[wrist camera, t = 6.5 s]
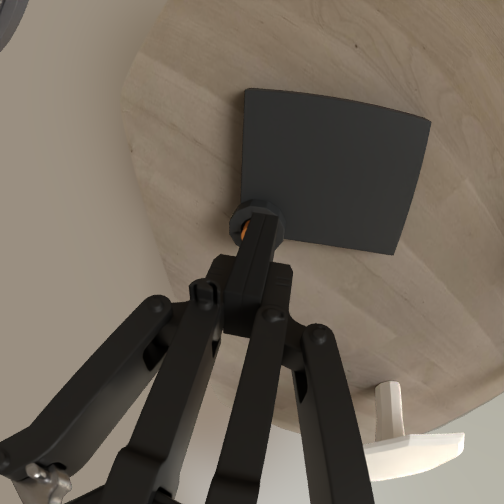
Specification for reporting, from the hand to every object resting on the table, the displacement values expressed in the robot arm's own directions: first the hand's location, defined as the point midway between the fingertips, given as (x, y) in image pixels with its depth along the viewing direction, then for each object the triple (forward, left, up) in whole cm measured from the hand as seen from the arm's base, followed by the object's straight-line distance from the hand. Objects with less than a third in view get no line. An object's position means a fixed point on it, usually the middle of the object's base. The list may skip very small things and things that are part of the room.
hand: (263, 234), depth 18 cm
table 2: (+25, -39, -14) cm, 48 cm away
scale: (+5, -1, -14) cm, 15 cm away
